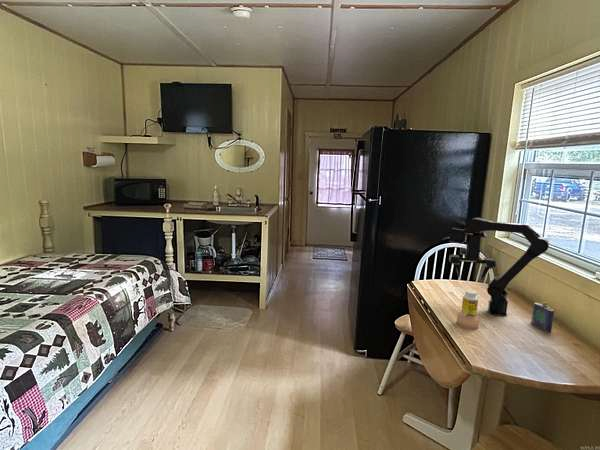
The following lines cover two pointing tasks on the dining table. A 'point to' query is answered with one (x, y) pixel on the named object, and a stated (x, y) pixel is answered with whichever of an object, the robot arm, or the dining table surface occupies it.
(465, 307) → the supplement bottle
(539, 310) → the flask
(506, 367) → the dining table surface
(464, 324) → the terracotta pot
